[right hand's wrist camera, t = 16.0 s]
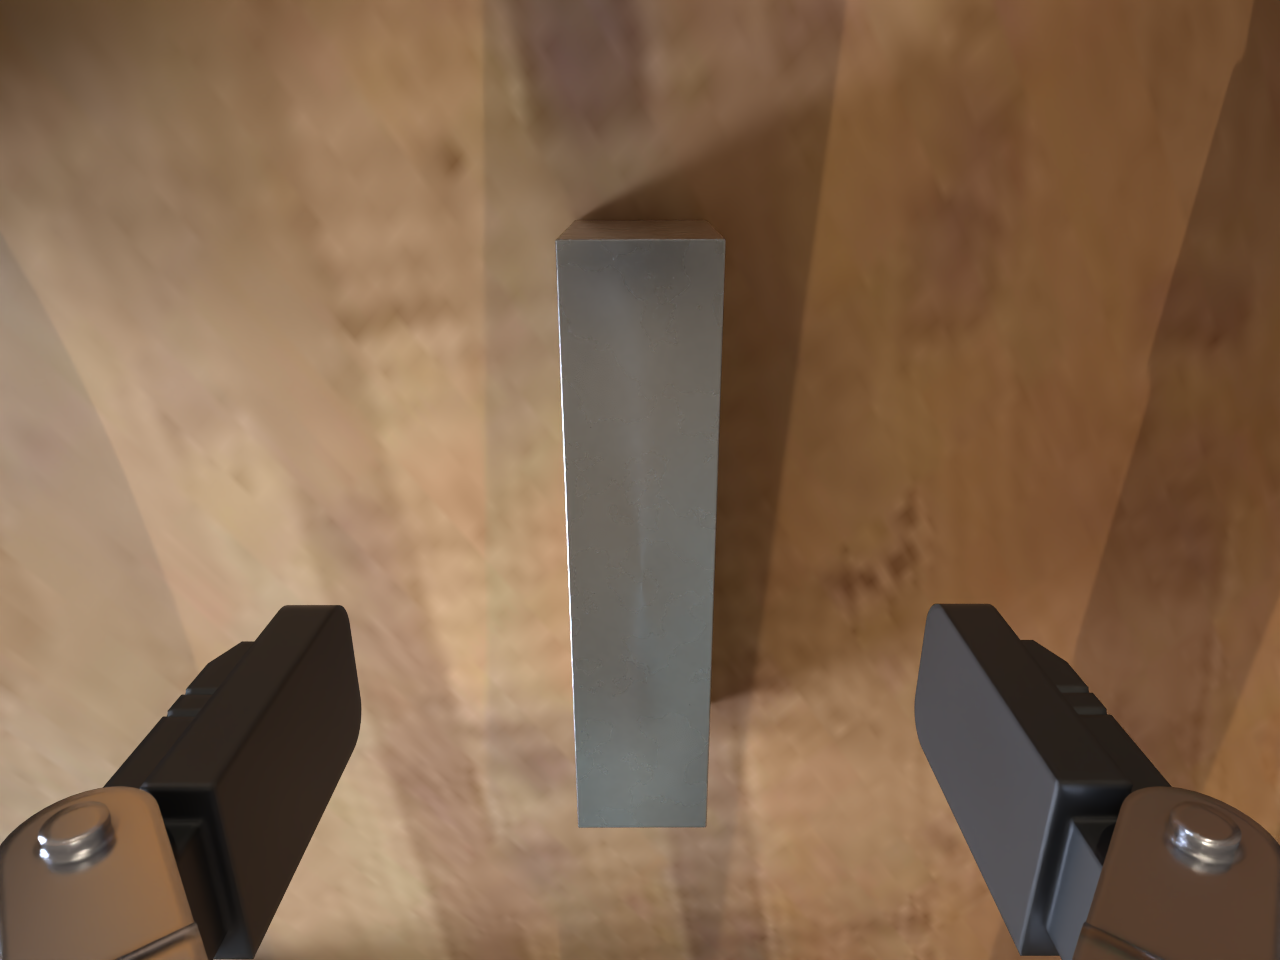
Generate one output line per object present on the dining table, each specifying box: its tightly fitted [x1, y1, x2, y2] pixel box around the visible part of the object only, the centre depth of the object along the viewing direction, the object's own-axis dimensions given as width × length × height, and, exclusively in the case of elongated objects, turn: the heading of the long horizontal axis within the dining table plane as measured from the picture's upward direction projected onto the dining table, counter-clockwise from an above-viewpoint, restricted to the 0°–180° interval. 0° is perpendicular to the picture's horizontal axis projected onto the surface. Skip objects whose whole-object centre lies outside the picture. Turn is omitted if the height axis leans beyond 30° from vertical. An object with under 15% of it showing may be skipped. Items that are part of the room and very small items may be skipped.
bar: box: [555, 220, 726, 828], centre depth 36 cm, size 25×6×8 cm, turn 0°
